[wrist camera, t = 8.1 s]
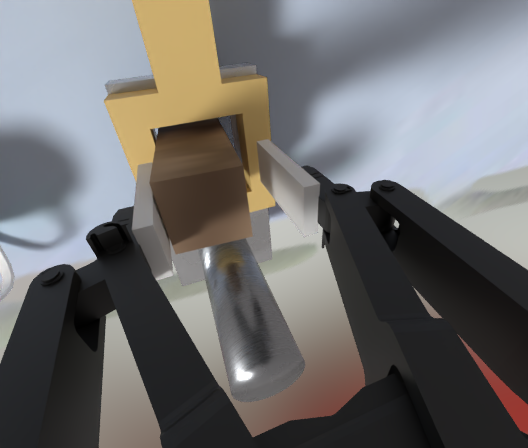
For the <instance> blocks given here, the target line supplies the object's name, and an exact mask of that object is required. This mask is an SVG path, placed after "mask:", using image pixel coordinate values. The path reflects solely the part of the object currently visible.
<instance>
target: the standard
mask: <svg viewBox="0 0 528 448" xmlns="http://www.w3.org/2000/svg"><path fill="white" fill-rule="evenodd" d="M219 70H220V76H221V79H224V78H231V77H238V76H246V75H253V74H257V72H256V65H254V64H250V63H242V64H234V65H226V66H219ZM105 87H106V90H107V92H108V95H110V94H117V93H124V92H131V91H138V90H145V89H153V88H157V86H156V83H155V79H154V76H153V75H149V76H141V77H133V78H126V79H118V80H110V81H108V82H107V83H106V84H105ZM230 119H231V126H232V133H233V140H234V146H235V151H236V153H237V155H238V157H239V159H240V161H241V162H242V158H241V151H240V144H239V136H238V129H237V122H236V114H235V115H230ZM153 132H154V135H155V138H156V140H157V135H156V132H155V128H154V129H153ZM250 219H251V227H252V234H253V237H248V238H244V239H240V240H236V241H231V242H227V243H223V244H219V245H214V246H210V247H206V248H202V249H197V250H193V251H189V252H185V253H180V254H175V251H174V249H173V246H172V243H171V241H170V247H171V257H172V261H173V263H174V266H175V268H176V271H177V274H178V276H179V279H180V281H181V284H182V286H185V285H188V284H192V283H195V282H198V281H202V280H205V281H206V285H207V289H208V294H209V298H210V302H211V307H212V311H213V315H214V320H215V324H216V329H217V333H218V337H219V342H220V346H221V350H222V355H223V359H224V363H225V367H226V372H227V376H228V381H229V385H230V390H231V394H232V396H233V398H234V399H236V400H238V401H242V402H252V401H258V400H262V399H265V398H268V397H271V396H273V395H275V394H277V393H279V392H281V391H283V390H284V389H286V388H287V387H289V386H290V385H292V384H293V383H294V382H295V381H296V380H297V379H298V378H299V377H300V376H301V374H302V372H303V371H304V368H305V361H304V359H303V357H302V355H301V353H300V351H299V349H298V346H297V344H296V343H295V340H294V338H293V336H292V334H291V332H290V330H289V328H288V326H287V323H286V321H285V319H284V317H283V315H282V313H281V311H280V309H279V307H278V305H277V303H276V301H275V299H274V296H273V294H272V292H271V290H270V288H269V286H268V284H267V282H266V280H265V277H264V275H263V273H262V271H261V269H260V267H259V265H258V263H261V262H264V261H267V260H271V259H272V250H271V238H270V226H269V214H268V208H265V209H261V210H258V211H254V212H250Z"/></svg>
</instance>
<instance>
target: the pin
mask: <svg viewBox="0 0 528 448" xmlns="http://www.w3.org/2000/svg"><path fill="white" fill-rule="evenodd" d="M149 184H150V187H151V189H152V192H153V195H154V197H155V200H156V203H157V205H158V208H159V211H160V214H161V216H162V219H163V222H164V224H165V227H166V230H167V233H168V235H169V238H170V241H171V243H172V246H173V249H174V251H175V254H180V253H185V252H189V251H193V250H197V249H202V248H206V247H210V246H214V245H219V244H223V243H227V242H231V241H236V240H240V239H244V238H248V237H253V234H252V227H251V219H250V212H249V205H248V197H247V190H246V182H245V175H244V168H243V164H242V162H241V161H240V159H239V157H238V155H237V153H236V151H235V149H234V148H233V146H232V144H231V142H230V140H229V138H228V137H227V135H226V133H225V131H224V129H223V127H222V126H221V124H220V122H219V120H218V118H212V119H206V120H201V121H195V122H189V123H183V124H177V125H171V126H166V127H160V128H158V134H157V140H156V146H155V152H154V158H153V164H152V170H151V176H150V182H149Z"/></svg>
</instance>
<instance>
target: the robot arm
mask: <svg viewBox="0 0 528 448" xmlns="http://www.w3.org/2000/svg"><path fill="white" fill-rule="evenodd" d="M257 150H258V161H259V171H260V181H261V182H262V184H263V185H264V186H265V188H266V189H267V190H268V192H269V193H270V194H271V195H272V197H273V198H274V199H275V201H276V202H277V203H278V205H279V206H280V207H281V208H282V210H283V211H284V212H285V214H286V215H287V216H288V217H289V219H290V220H291V221H292V223H293V224H294V225H295V227H296V228H297V229H298V230H299V232H300V233H301V234H302V236H303V237H306V236H309V235H313V234H316V233H318V223H319V224H320V226H321V227H322V228H323V235H322V248H324V245H326V249H327V252H328V255H329V259H330V262H331V265H332V268H333V271H334V275H335V278H336V281H337V284H338V287H339V290H340V294H341V297H342V300H343V304H344V307H345V310H346V313H347V317H348V319H349V323H350V326H351V329H352V333H353V336H354V339H355V342H356V345H357V348H358V352H359V355H360V358H361V362H362V364H363V368H364V373H365V385H366V386H365V387H363V388H362V389H361V390H360V391H359V392H358V393H357V394H356V395H355V396H354V397H353V398H351V399H350V400H349V401H348V402H347V403H346V404H345V405H344V406H343V407H342V408H341V409H340V410H339V411H338V412H337V413H336V414H334V415H332V416H325V417H317V418H309V419H300V420H292V421H288V422H286V423H284V424H282V425H279V426H277V427H275V428H273V429H271V430H268V431H266V432H264V433H262V434H260V435H257V436H255V437H252V436H251V434H250V432H249V431H248V429H247V427H246V426H245V424H244V423H243V421H242V419H241V418H240V416H239V414H238V413H237V411H236V409H235V408H234V406H233V404H232V403H231V401H230V399H229V398H228V396H227V395H226V393H225V392H224V390H223V389H222V388H221V387H220V386H219V385H218V383H217V382H216V380H215V378H214V377H213V375H212V373H211V372H210V370H209V368H208V367H207V365H206V364H205V361H204V360H203V358H202V356H201V355H200V353H199V352H198V350H197V348H196V346H195V345H194V343H193V342H192V340H191V338H190V336H189V334H188V333H187V331H186V329H185V328H184V326H183V324H182V323H181V321H180V320H179V318H178V316H177V314H176V313H175V311H174V310H173V308H172V306H171V304H170V303H169V301H168V299H167V297H166V296H165V294H164V292H163V291H162V289H161V287H160V286H159V284H158V282H157V281H156V280H159V279H163V278H166V277H170V276H173V267H172V257H171V247H170V238H169V235H168V233H167V230H166V227H165V224H164V222H163V219H162V216H161V214H160V211H159V208H158V205H157V203H156V200H155V197H154V195H153V192H152V189H151V187H150V184H149V182H150V176H151V170H152V162H150V163H145V164H140V165H138V170H137V180H136V191H135V201H134V206H132V207H128V208H123V209H119V210H118V211H117V212H116V213H115V215H114V216H113V219H112V222H107V223H104V224H101V225H99V226H97V227H95V228H94V229H92V230H91V231H90V232H89V233H88V235H87V236H86V240H87V242H88V244H89V245H90V247H91V249H92V250H93V252H94V253H95V255H96V257H97V260H95V261H94V262H92V263H90V264H88V265H87V266H84V267H82V268H80V269H78V270H75V269H74V268H73V267H72V266H71V265H66V264H62V265H57V266H54V267H51V268H48V269H46V270H45V271H43V272H41V273H40V274H39V275H38V276H37V277H36V278H34V279H33V281H32V282H31V284H30V286H29V289H28V291H27V294H26V296H25V299H24V302H23V304H22V307H21V310H20V312H19V315H18V318H17V320H16V323H15V326H14V328H13V331H12V334H11V336H10V339H9V342H8V344H7V347H6V350H5V352H4V355H3V358H2V360H1V363H0V448H99V430H100V412H101V395H102V377H103V359H104V342H105V324H106V314H108V313H110V312H112V311H113V310H115V309H116V310H117V313H118V316H119V318H120V321H121V323H122V326H123V329H124V332H125V334H126V337H127V340H128V343H129V345H130V348H131V351H132V353H133V356H134V359H135V361H136V364H137V366H138V369H139V372H140V375H141V377H142V380H143V383H144V386H145V388H146V391H147V393H148V396H149V399H150V402H151V404H152V407H153V410H154V412H155V415H156V418H157V420H158V423H159V426H160V429H161V435H160V439H161V445H162V448H528V435H527V434H525V433H523V432H522V431H520V430H519V428H518V427H517V425H516V424H515V422H514V421H513V419H512V418H511V416H510V415H509V413H508V412H507V410H506V409H505V407H504V405H503V404H502V402H501V401H500V399H499V398H498V396H497V395H496V393H495V392H494V390H493V388H492V387H491V385H490V384H489V383H488V381H487V379H486V378H485V376H484V375H483V373H482V372H481V370H480V369H479V367H478V365H477V364H476V362H475V361H474V359H473V358H472V356H471V355H470V353H469V352H468V350H467V349H466V347H465V346H464V344H463V342H462V341H461V339H460V338H459V336H460V337H461V338H462V339H463V340H464V341H465V342H466V343H467V344H468V346H469V347H470V348H472V350H473V351H474V352H475V353H476V354H477V355H478V356H479V357H480V358H481V359H482V360H483V362H484V363H485V364H486V365H487V366H488V367H489V368H490V369H491V370H492V371H493V372H494V373H495V374H496V375H497V376H498V377H499V378H500V379H501V380H502V381H503V382H504V383H505V384H506V385H507V386H508V387H509V388H510V389H511V390H512V391H513V392H514V393H515V394H516V395H518V396H519V397H520V398H521V399H522V400H523V401H525V402H526V403H527V404H528V270H527V269H525V268H524V267H522V266H521V265H519V264H518V263H516V262H515V261H513V260H512V259H510V258H509V257H507V256H506V255H504V254H503V253H501V252H500V251H498V250H497V249H495V248H494V247H492V246H491V245H490V244H488V243H486V242H485V241H484V240H482V239H481V238H479V237H477V236H476V235H475V234H473V233H471V232H470V231H469V230H467V229H466V228H464V227H463V226H461V225H460V224H458V223H457V222H455V221H454V220H452V219H451V218H449V217H448V216H446V215H445V214H443V213H442V212H440V211H439V210H437V209H436V208H434V207H433V206H431V205H430V204H428V203H427V202H425V201H424V200H422V199H421V198H419V197H418V196H416V195H415V194H413V193H412V192H410V191H409V190H407V189H406V188H404V187H403V186H401V185H400V184H398V183H396V182H393V181H390V180H387V181H386V180H382V181H376V182H374V183H373V184H372V185H371V191H365V192H356V191H355V189H354V188H353V187H351V186H349V185H346V184H334V183H333V182H331V181H330V180H329V179H328V178H326V177H325V176H324V175H323V174H321V173H320V172H319V171H317V170H316V169H315V168H312V167H310V166H303V167H300V166H299V165H298V164H297V163H296V162H294V161H293V160H292V159H291V158H290V157H289V156H287V155H286V154H285V153H284V152H283V151H282V150H280V149H279V148H278V147H277V146H276V145H275V144H273V143H272V142H271V141H270V140H269V139H266V140H261V141H257ZM395 219H396V220H397V221H398V223H399V228H396V227H395V226H394V222H395ZM413 287H414V288H415V289H416V290H417V291H418V292H419V293H420V294H421V296H422V297H423V298H424V299H425V300H426V301H427V302H428V303H429V304H430V305H431V306H432V307H433V308H434V309H435V310H436V312H437V313H438V314H439V315H440V316H441V317H442V318H443V319H442V318H433V317H431V316H430V314H429V313H428V312H427V310H426V308H425V307H424V305H423V303H422V302H421V300H420V298H419V297H418V295H417V293H416V291H415V290H414V288H413ZM457 334H458V335H459V336H458V335H457Z"/></svg>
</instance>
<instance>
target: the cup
mask: <svg viewBox="0 0 528 448" xmlns="http://www.w3.org/2000/svg"><path fill="white" fill-rule="evenodd" d="M0 273H1V276H2V278H3V281H2V287H1V290H0V301H1V300H3V299H4V298H5V297H6V296H7V295H8V293H9V292H10V291H11V289H12V288H13V283H14V277H15V276H14V272H13V269H12V266H11V264H10V262H9V260H8V258H7V256H6V254H5V252H4V251H3V249H2V247H1V246H0Z"/></svg>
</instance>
